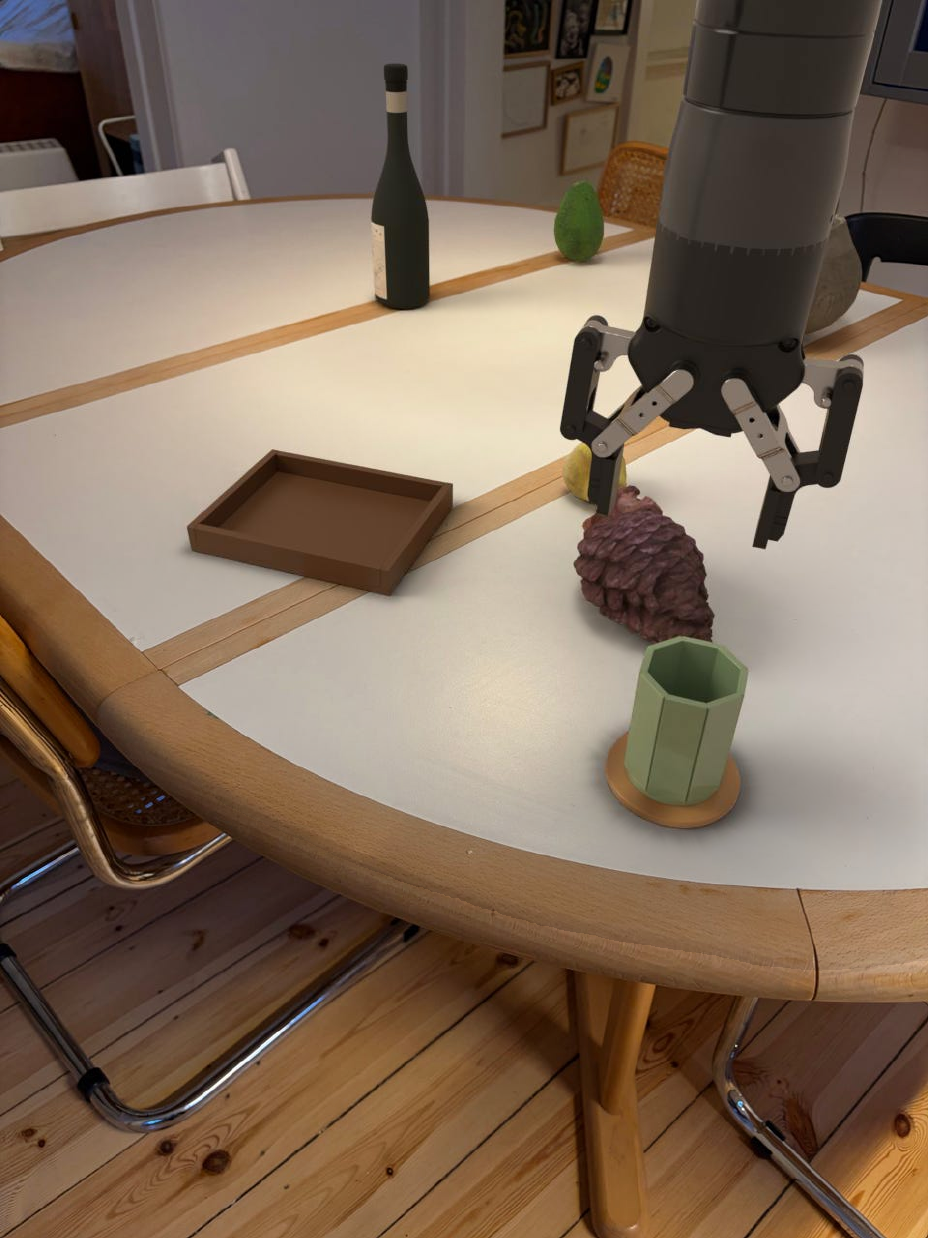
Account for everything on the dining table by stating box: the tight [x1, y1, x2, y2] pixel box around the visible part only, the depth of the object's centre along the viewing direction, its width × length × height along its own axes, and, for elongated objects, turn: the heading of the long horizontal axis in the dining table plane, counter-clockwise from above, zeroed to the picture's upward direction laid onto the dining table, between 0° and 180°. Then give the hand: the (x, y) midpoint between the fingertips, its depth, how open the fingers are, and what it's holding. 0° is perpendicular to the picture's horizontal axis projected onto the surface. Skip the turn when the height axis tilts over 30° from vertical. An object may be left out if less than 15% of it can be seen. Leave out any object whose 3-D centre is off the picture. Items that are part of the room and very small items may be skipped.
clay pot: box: [804, 212, 863, 336], centre depth 125 cm, size 22×21×15 cm
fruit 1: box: [553, 180, 605, 263], centre depth 148 cm, size 8×8×12 cm
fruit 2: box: [562, 442, 628, 506], centre depth 91 cm, size 6×6×10 cm
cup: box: [624, 636, 750, 806], centre depth 61 cm, size 6×6×9 cm
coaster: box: [605, 730, 741, 829], centre depth 64 cm, size 9×9×1 cm
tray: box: [186, 448, 454, 596], centre depth 87 cm, size 20×16×3 cm
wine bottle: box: [370, 63, 431, 310], centre depth 127 cm, size 8×8×30 cm
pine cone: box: [572, 484, 716, 645], centre depth 75 cm, size 18×10×10 cm
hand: (681, 525), depth 51 cm, fingers open, 8 cm apart
